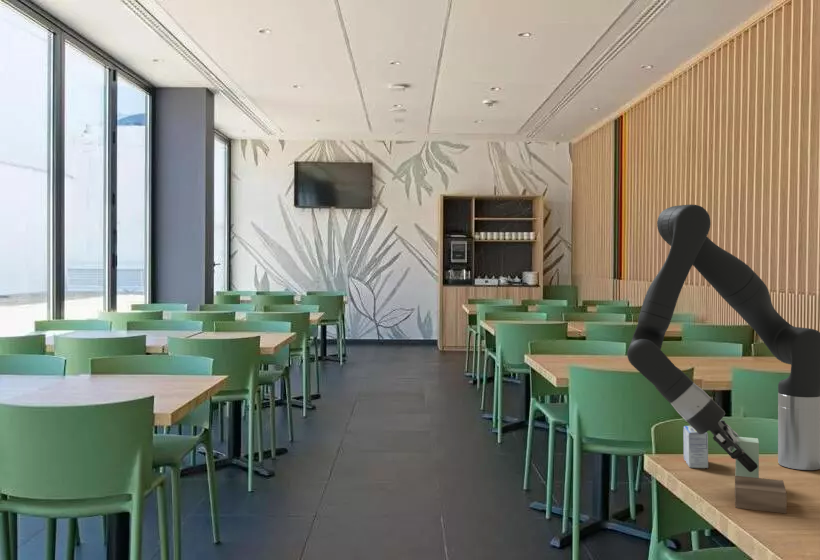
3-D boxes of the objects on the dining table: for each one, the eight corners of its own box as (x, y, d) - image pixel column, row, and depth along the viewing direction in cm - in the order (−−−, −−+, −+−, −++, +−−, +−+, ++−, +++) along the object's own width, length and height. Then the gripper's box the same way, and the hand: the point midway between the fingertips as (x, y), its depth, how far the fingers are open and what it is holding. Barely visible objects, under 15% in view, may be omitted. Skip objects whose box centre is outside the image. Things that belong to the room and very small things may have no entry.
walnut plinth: (734, 494, 152) (734, 475, 152) (783, 499, 148) (783, 480, 148) (735, 507, 143) (735, 487, 143) (786, 513, 140) (786, 492, 140)
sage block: (735, 481, 161) (735, 436, 161) (757, 483, 160) (757, 438, 159) (735, 486, 157) (735, 440, 157) (758, 489, 155) (758, 442, 155)
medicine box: (708, 469, 171) (708, 432, 171) (688, 468, 172) (688, 431, 172) (702, 460, 179) (702, 425, 179) (683, 459, 180) (683, 425, 180)
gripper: (709, 402, 155) (769, 461, 150) (710, 392, 168) (765, 446, 163) (682, 425, 157) (741, 484, 152) (686, 413, 170) (740, 467, 165)
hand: (753, 464), depth 158 cm, fingers open, 8 cm apart
